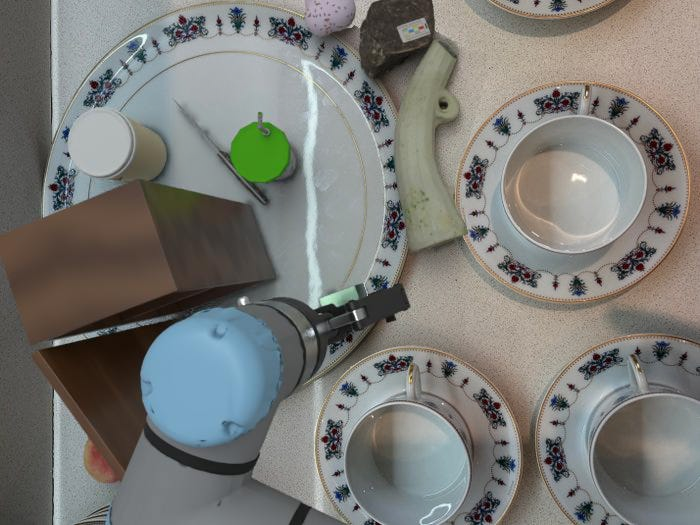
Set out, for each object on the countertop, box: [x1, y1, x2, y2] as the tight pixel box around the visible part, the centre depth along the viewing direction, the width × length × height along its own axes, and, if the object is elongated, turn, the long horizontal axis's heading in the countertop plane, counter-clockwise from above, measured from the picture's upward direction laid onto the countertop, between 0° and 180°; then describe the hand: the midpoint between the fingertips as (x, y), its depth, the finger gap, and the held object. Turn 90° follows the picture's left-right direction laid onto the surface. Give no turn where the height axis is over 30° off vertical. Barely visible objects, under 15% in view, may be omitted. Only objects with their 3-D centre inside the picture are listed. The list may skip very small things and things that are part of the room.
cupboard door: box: [30, 316, 184, 483], centre depth 80 cm, size 7×16×34 cm, turn 38°
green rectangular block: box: [317, 282, 367, 307], centre depth 88 cm, size 5×5×9 cm
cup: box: [229, 111, 298, 184], centre depth 87 cm, size 8×8×15 cm
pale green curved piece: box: [393, 38, 469, 255], centre depth 86 cm, size 28×8×10 cm
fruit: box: [82, 438, 120, 484], centre depth 95 cm, size 8×8×8 cm
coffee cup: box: [67, 106, 168, 182], centre depth 92 cm, size 9×9×12 cm
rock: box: [358, 0, 436, 81], centre depth 88 cm, size 10×7×8 cm
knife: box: [172, 98, 268, 205], centre depth 94 cm, size 20×1×3 cm, turn 42°
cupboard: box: [0, 179, 277, 347], centre depth 79 cm, size 11×16×34 cm
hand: (324, 322), depth 73 cm, fingers open, 13 cm apart
